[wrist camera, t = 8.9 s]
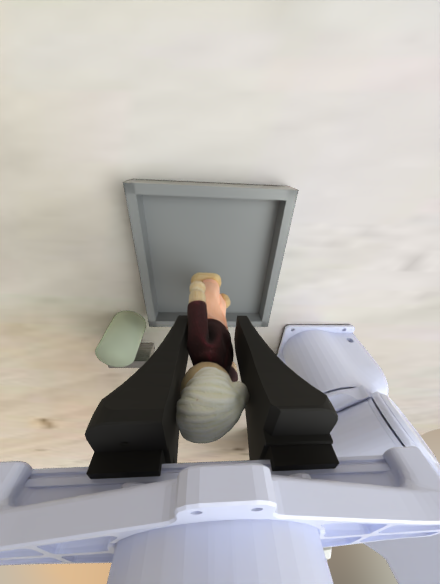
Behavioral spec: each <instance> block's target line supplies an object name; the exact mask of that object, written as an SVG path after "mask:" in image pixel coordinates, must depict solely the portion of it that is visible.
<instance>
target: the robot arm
mask: <svg viewBox="0 0 440 584" xmlns="http://www.w3.org/2000/svg"><path fill="white" fill-rule="evenodd" d="M354 330H355V327H354V326H352V325H288V326H286V327H285V329H284V332H283V336H282V339H281V343H280V346H279V350H278V353H277V355H276V354H275V353H274V352H273V351H272V350H271V349H270V348H269V346H268V345H267V344H266V343H265V342H264V340H263V339H262V338H261V336H260V335H259V334H258V332H257V331H256V329H255V328H254V326H253V325H252V323H251V322H250V320H249V318H248V317H247V316H237V320H236V329H235V338H234V339H235V351H236V357H237V362H238V366H239V371H240V376H241V381H242V383H244V384H245V385H246V387H247V389H248V392H249V395H250V396H249V401H248V402H247V405H246V407H245V411H246V421H247V432H248V444H249V457H250V460H247V461H222V462H197V463H177V453H178V439H179V428H178V426H177V423H176V413H177V401H178V400H179V399H180V398H181V396H180V387H181V383H182V380H183V378H184V376H185V372H186V366H187V361H188V355H189V353H188V350H187V340H188V338H187V335H188V317H187V315H179V316H178V317H177V319H176V321H175V323H174V325H173V326H172V328H171V330H170V331H169V333H168V335H167V336H166V338H165V339H164V341H163V342H162V343H161V345H160V346H159V347H158V349H157V350H156V351H155V352H154V354H153V355H152V356H151V357H150V358H149V359H148V360H147V361H146V363H145V364H144V365H143V366H142V367H141V368H140V369H139V370H138V371H137V372H136V373H134V374H133V375H132V376H131V377H130V378H129V379H128V380H127V381H125V382H124V383H123V384H122V385H121V386H119V387H118V388H117V389H116V390H114V391H113V392H112V393H110V394H109V395H108V396H106V397H105V398H104V399H102V400H101V402H100V403H99V405H98V407H97V409H96V410H95V412H94V414H93V416H92V418H91V420H90V423H89V425H88V427H87V430H86V433H85V436H86V439H87V441H88V442H89V444H90V446H91V447H92V449H93V450H94V455H93V457H92V460H91V462H90V465H89V467H72V468H47V469H32V467H31V466H30V465H29V464H28V463H26V462H21V461H10V462H0V565H21V564H61V563H62V564H63V563H64V564H65V563H112V564H111V569H110V573H109V577H108V581H107V584H333V581H332V578H331V574H330V571H329V567H328V564H327V560H326V557H325V553H324V550H323V548H325V547H332V546H341V545H350V544H358V543H363V544H365V545H367V546H368V547H370V548H371V549H373V550H374V551H376V552H377V553H379V554H380V555H381V556H383V557H384V558H385V559H386V561H387V563H388V565H389V567H390V569H391V571H392V573H393V575H394V576H395V578H396V580H397V582H398V584H440V464H439V463H438V461H437V459H436V457H435V456H434V454H433V453H432V451H431V450H430V448H429V447H428V445H427V444H426V443H425V441H424V440H423V439H422V437H421V436H420V435H419V433H418V432H417V431H416V429H415V428H414V427H413V425H412V424H411V423H410V421H409V420H408V419H407V418H406V416H405V415H404V414H403V413H402V411H401V410H400V409H399V408H398V407H397V405H396V404H395V403H394V402H393V401H392V400H391V398H390V397H389V396H388V384H387V380H386V377H385V375H384V373H383V371H382V369H381V368H380V366H379V365H378V364H377V362H376V361H375V360H374V359H373V357H372V356H371V355H370V354H369V352H368V351H367V350H366V349H365V347H364V346H363V345H362V344H361V343H360V341H359V340H358V339H357V338H356V336H355V335H354V334H353V332H354Z"/></svg>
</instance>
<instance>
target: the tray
mask: <svg viewBox="0 0 440 584" xmlns="http://www.w3.org/2000/svg"><path fill="white" fill-rule="evenodd" d="M123 185H124V190H125V195H126V201H127V206H128V212H129V217H130V223H131V228H132V234H133V239H134V245H135V250H136V256H137V261H138V267H139V272H140V278H141V283H142V289H143V294H144V300H145V305H146V311H147V316H148V322H149V327H172V326H173V325H174V323H175V321H176V319H177V317H178V316H179V315H187V307H188V303H189V295H190V291H189V287H190V284H191V278H192V276H193V275H194V274H196V273H200V272H202V273H216V274H218V275H219V276H220V278H221V286H220V294H221V293H223V294H226V295H228V297H229V299H230V305H229V307H228V308H226V321H227V327H236V320H237V316H247V317H248V318H249V320H250V322H251V323H252V325H253V326H254V327H268V323H269V318H270V314H271V309H272V305H273V301H274V296H275V292H276V287H277V283H278V278H279V274H280V270H281V265H282V261H283V256H284V252H285V247H286V243H287V239H288V234H289V230H290V225H291V221H292V216H293V212H294V208H295V203H296V199H297V194H298V190H297V189H295V188H292V187H290V186H276V185H254V184H232V183H210V182H188V181H166V180H144V179H131V180H128V181H125V182H123Z"/></svg>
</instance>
